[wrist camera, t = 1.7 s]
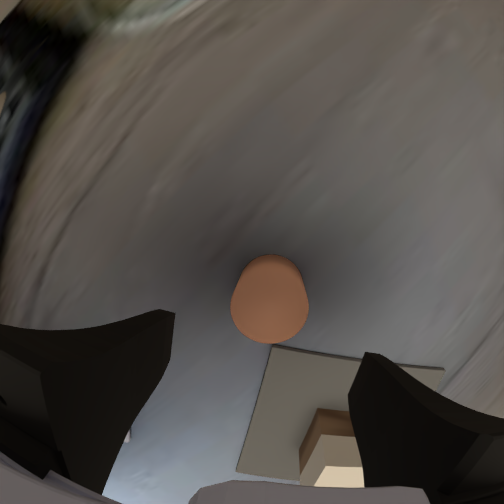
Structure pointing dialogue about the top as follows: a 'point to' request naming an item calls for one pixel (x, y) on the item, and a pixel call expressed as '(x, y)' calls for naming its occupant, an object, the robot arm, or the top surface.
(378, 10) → the top surface
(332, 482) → the tower mid
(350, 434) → the tower base
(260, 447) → the mat
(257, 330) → the cylinder
